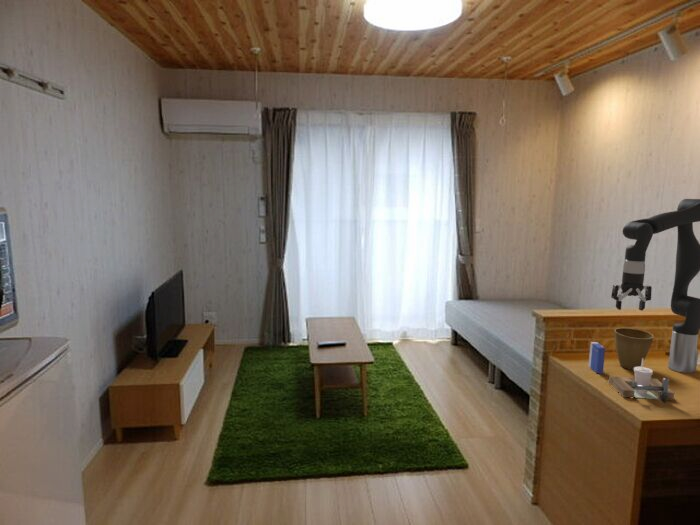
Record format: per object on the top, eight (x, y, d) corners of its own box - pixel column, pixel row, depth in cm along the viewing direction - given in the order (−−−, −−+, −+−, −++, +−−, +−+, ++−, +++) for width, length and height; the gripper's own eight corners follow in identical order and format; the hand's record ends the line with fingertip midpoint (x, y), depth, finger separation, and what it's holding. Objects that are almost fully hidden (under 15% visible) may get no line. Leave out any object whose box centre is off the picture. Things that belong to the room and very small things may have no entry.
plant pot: (615, 370, 201) (618, 336, 198) (608, 359, 215) (611, 326, 212) (654, 375, 196) (658, 339, 194) (644, 362, 210) (647, 329, 208)
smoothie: (632, 387, 183) (636, 354, 181) (651, 392, 179) (655, 358, 177) (630, 393, 178) (633, 359, 176) (649, 397, 174) (653, 363, 172)
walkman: (602, 373, 198) (605, 347, 196) (596, 373, 198) (598, 347, 196) (594, 366, 206) (596, 341, 204) (588, 366, 206) (590, 341, 204)
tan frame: (655, 385, 186) (656, 378, 185) (673, 400, 173) (674, 392, 173) (608, 383, 188) (609, 376, 188) (622, 397, 176) (623, 390, 175)
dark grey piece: (664, 400, 173) (667, 377, 172) (667, 402, 171) (670, 380, 170) (629, 398, 175) (631, 376, 173) (631, 400, 173) (634, 378, 172)
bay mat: (647, 389, 182) (647, 388, 182) (658, 399, 174) (658, 398, 174) (624, 388, 184) (624, 387, 183) (634, 397, 175) (634, 397, 175)
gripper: (647, 270, 188) (643, 308, 191) (611, 269, 190) (607, 306, 193) (657, 273, 181) (653, 312, 183) (619, 272, 183) (615, 311, 185)
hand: (629, 309), depth 188 cm, fingers open, 8 cm apart
